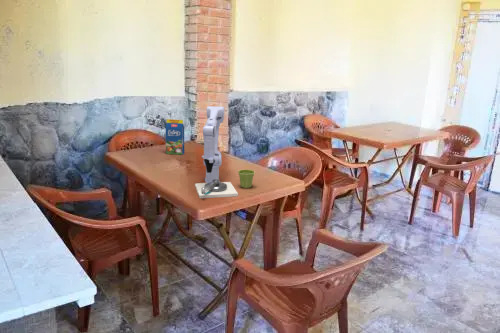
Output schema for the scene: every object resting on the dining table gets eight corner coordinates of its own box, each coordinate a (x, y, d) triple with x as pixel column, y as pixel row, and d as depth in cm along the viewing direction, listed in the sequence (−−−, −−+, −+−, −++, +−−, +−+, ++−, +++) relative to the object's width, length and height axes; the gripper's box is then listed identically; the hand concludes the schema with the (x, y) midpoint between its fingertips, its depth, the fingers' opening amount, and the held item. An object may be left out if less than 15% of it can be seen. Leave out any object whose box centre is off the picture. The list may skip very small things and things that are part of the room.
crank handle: (210, 183, 227) (210, 176, 226) (230, 186, 223) (230, 178, 222) (191, 195, 208) (191, 187, 206) (213, 198, 204) (213, 190, 202)
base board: (194, 186, 227) (194, 183, 226) (230, 184, 232) (230, 181, 231) (199, 198, 208) (199, 195, 208) (237, 196, 213) (237, 193, 213)
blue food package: (168, 152, 301) (167, 118, 294) (184, 153, 300) (184, 119, 293) (165, 154, 295) (165, 119, 288) (182, 155, 294) (181, 120, 287)
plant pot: (240, 189, 224) (240, 174, 221) (235, 184, 232) (236, 169, 230) (256, 188, 226) (256, 173, 224) (251, 183, 235) (252, 169, 233)
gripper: (200, 145, 223) (200, 169, 226) (203, 151, 209) (203, 176, 213) (212, 144, 224) (212, 168, 228) (217, 150, 211) (217, 176, 215)
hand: (209, 172), depth 221 cm, fingers closed
